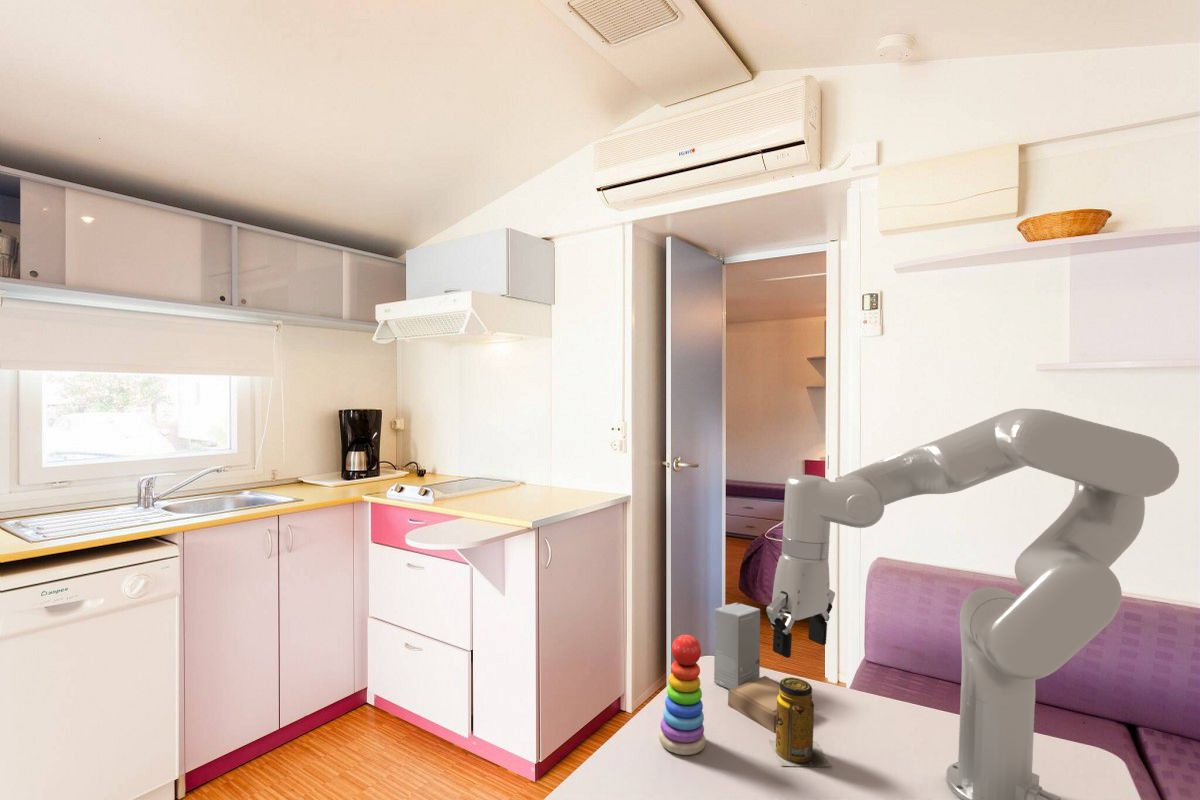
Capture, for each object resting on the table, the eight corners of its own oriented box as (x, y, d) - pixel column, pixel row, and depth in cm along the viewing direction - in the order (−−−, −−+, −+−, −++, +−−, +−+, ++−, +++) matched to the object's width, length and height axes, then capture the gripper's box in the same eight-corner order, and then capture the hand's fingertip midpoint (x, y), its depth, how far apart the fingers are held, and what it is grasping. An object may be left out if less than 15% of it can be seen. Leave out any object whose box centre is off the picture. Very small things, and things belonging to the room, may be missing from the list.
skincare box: (738, 695, 120) (741, 617, 120) (710, 682, 125) (712, 607, 125) (761, 682, 126) (764, 608, 125) (733, 670, 131) (735, 599, 131)
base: (810, 714, 113) (811, 698, 113) (773, 732, 107) (774, 715, 107) (764, 690, 122) (765, 675, 122) (727, 705, 116) (728, 689, 116)
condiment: (768, 740, 104) (770, 673, 104) (816, 742, 104) (818, 674, 104) (780, 767, 97) (783, 694, 97) (832, 768, 97) (834, 696, 97)
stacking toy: (704, 761, 98) (708, 648, 98) (656, 753, 100) (660, 643, 99) (705, 734, 106) (709, 630, 106) (661, 728, 107) (664, 625, 107)
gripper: (816, 537, 108) (811, 630, 109) (753, 549, 98) (748, 650, 99) (854, 547, 102) (848, 645, 103) (791, 560, 92) (786, 669, 93)
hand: (799, 648), depth 101 cm, fingers open, 9 cm apart
